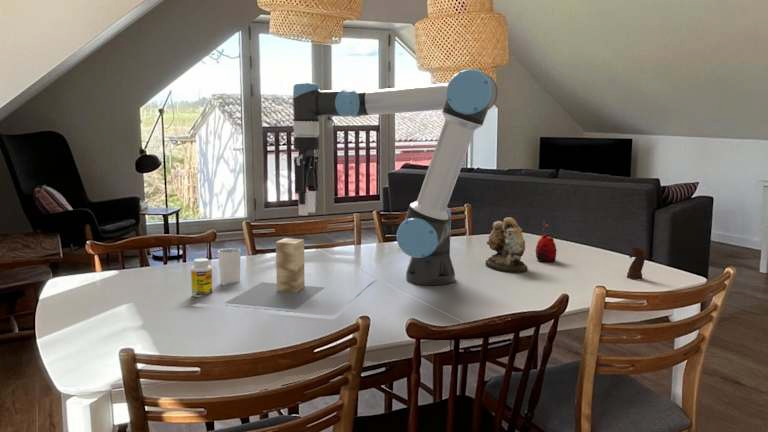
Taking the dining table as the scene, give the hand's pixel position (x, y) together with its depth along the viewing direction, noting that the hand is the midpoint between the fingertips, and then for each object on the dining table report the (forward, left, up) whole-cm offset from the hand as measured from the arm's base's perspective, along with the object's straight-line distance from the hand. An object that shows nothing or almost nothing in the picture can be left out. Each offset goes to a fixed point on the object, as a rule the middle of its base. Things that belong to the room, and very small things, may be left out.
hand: (307, 213), depth 191 cm
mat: (+1, +20, -21) cm, 29 cm away
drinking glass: (+21, +10, -21) cm, 31 cm away
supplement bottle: (+22, +24, -21) cm, 39 cm away
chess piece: (-98, -33, -21) cm, 106 cm away
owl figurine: (-57, -36, -21) cm, 71 cm away
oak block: (0, +13, -20) cm, 24 cm away
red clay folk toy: (-70, -50, -21) cm, 89 cm away
